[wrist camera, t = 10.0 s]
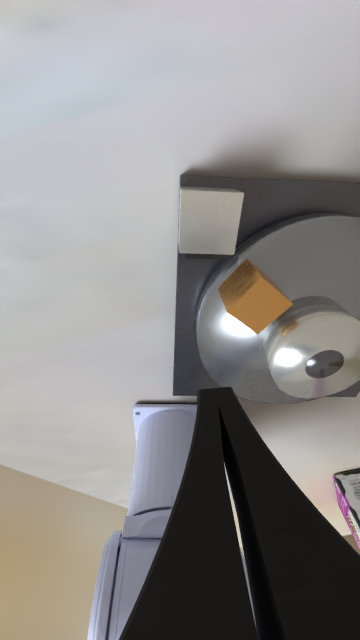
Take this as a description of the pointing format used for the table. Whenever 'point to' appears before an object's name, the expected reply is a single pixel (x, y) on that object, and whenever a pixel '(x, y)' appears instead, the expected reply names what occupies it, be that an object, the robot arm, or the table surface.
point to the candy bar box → (349, 499)
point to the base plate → (251, 222)
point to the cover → (312, 348)
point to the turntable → (274, 295)
